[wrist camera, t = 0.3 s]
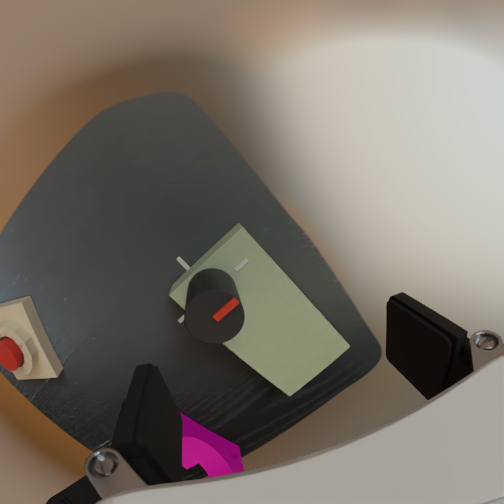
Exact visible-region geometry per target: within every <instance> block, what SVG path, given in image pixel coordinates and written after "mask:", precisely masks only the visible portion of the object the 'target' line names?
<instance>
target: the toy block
mask: <svg viewBox="0 0 504 504" xmlns="http://www.w3.org/2000/svg"><path fill="white" fill-rule="evenodd" d="M181 416H182V420H183V432H182V466H184V467H185V468H186V469H188V468H190V467H192V466H194V465H196V464H198V463H199V464H200V465H201V466H202V467H203V468H204V470H205V471H206V472H207V474H208V475H209V477H210V478H211V477H217V476H222V475H228V474H233V473H239V472H244V470H243V464H242V459H241V454H240V448H239V446H238V445H236V444H234V443H232V442H230V441H228V440H226V439H224V438H222V437H221V436H219V435H217V434H215V433H214V432H212V431H210V430H208V429H207V428H205V427H203V426H201V425H200V424H198V423H196V422H195V421H193V420H192V419H190V418H188V417H187V416H185V415H184V414H182V413H181Z"/></svg>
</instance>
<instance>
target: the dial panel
mask: <svg viewBox="0 0 504 504" xmlns="http://www.w3.org/2000/svg"><path fill="white" fill-rule="evenodd" d="M176 260H177V261H178V262H179V263H180V264H181V265H182V266H183V267H184V268H185V269H186V270H187V271H186V272H185V273H184V274H183V275H182V276H181V277H180V278H179V279H178V280H177V281H176V282H174V283H173V284H172V288H171V291H170V295H169V296H170V297H171V298H172V299H173V300H175V301H176V302H177V303H178V304H179V305H180V306H181V307H182V308H183V309H184V310H185V304H186V297H187V289H188V285H189V282H190V280H191V279H192V277H193V276H194V275H195V274H196V273H198V272H199V271H201V270H204V269H208V268H216V269H220V270H223V271H225V272H226V273H228V274H229V275H230V276H231V277H232V279H233V280H234V282H235V285H236V288H237V291H238V294H239V297H240V300H241V303H242V306H243V309H244V313H245V320H244V324H243V327H242V329H241V330H240V332H239V333H238V334H237V335H236V336H235V337H234V338H232V339H231V340H229V341H227V342H224V343H223V344H224V345H225V346H226V347H228V348H229V349H230V350H231V351H232V352H233V353H235V354H236V355H237V356H238V357H240V358H241V359H242V360H243V361H244V362H246V363H247V364H248V365H249V366H251V367H252V368H253V369H254V370H256V371H257V372H258V373H260V374H261V375H262V376H263V377H265V378H266V379H267V380H269V381H270V382H271V383H272V384H274V385H275V386H276V387H278V388H279V389H280V390H282V391H283V392H284V393H286V394H287V395H288V396H291V395H292V394H294V393H295V392H296V391H298V390H299V389H300V388H301V387H303V386H304V385H305V384H307V383H308V382H309V381H310V380H312V379H313V378H314V377H315V376H316V375H318V374H319V373H320V372H321V371H323V370H324V369H325V368H326V367H327V366H328V365H330V364H331V363H332V362H333V361H334V360H336V359H337V358H338V357H339V356H340V355H341V354H342V353H343V352H345V351H346V350H347V349H348V348H349V347H350V345H349V344H348V343H347V342H346V341H345V340H344V339H343V338H342V336H341V335H340V334H339V333H338V332H337V331H336V330H335V329H334V327H333V326H332V325H331V324H330V323H329V322H328V321H327V320H326V319H325V317H324V316H323V315H322V314H321V313H320V312H319V311H318V310H317V308H316V307H315V306H314V305H313V304H312V303H311V302H310V301H309V300H308V298H307V297H306V296H305V295H304V294H303V293H302V292H301V291H300V290H299V288H298V287H297V286H296V285H295V284H294V283H293V282H292V281H291V280H290V279H289V277H288V276H287V275H286V274H285V273H284V272H283V271H282V270H281V269H280V267H279V266H278V265H277V264H276V263H275V262H274V261H273V260H272V259H271V258H270V256H269V255H268V254H267V253H266V252H265V251H264V250H263V249H262V248H261V247H260V245H259V244H258V243H257V242H256V241H255V240H254V239H253V238H252V237H251V236H250V234H249V233H248V232H247V231H246V230H245V229H244V228H243V227H242V226H241V225H240V224H239V223H238V224H236V225H235V226H234V227H233V228H232V229H231V230H230V231H229V232H228V233H227V234H226V235H224V236H223V237H222V238H221V239H220V240H219V241H218V242H217V243H216V244H215V245H214V246H213V247H212V248H210V249H209V250H208V251H207V252H206V253H205V254H204V255H203V256H202V257H201V258H200V259H199V260H198V261H197V262H196V263H194V264H193V265H192V266H191V267H189V266H188V265H187V264H186V263H185V262H184V261H183V260H182V259H181V258H180V257H178V258H177V259H176ZM183 320H184V315H183V316H182V317H181V318H179V319H178V321H179V322H180V323H181V322H182V321H183Z"/></svg>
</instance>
